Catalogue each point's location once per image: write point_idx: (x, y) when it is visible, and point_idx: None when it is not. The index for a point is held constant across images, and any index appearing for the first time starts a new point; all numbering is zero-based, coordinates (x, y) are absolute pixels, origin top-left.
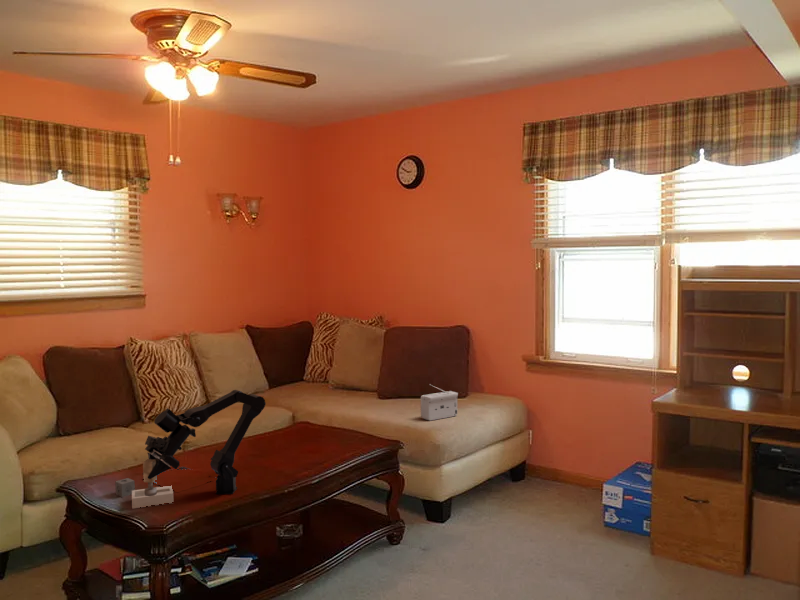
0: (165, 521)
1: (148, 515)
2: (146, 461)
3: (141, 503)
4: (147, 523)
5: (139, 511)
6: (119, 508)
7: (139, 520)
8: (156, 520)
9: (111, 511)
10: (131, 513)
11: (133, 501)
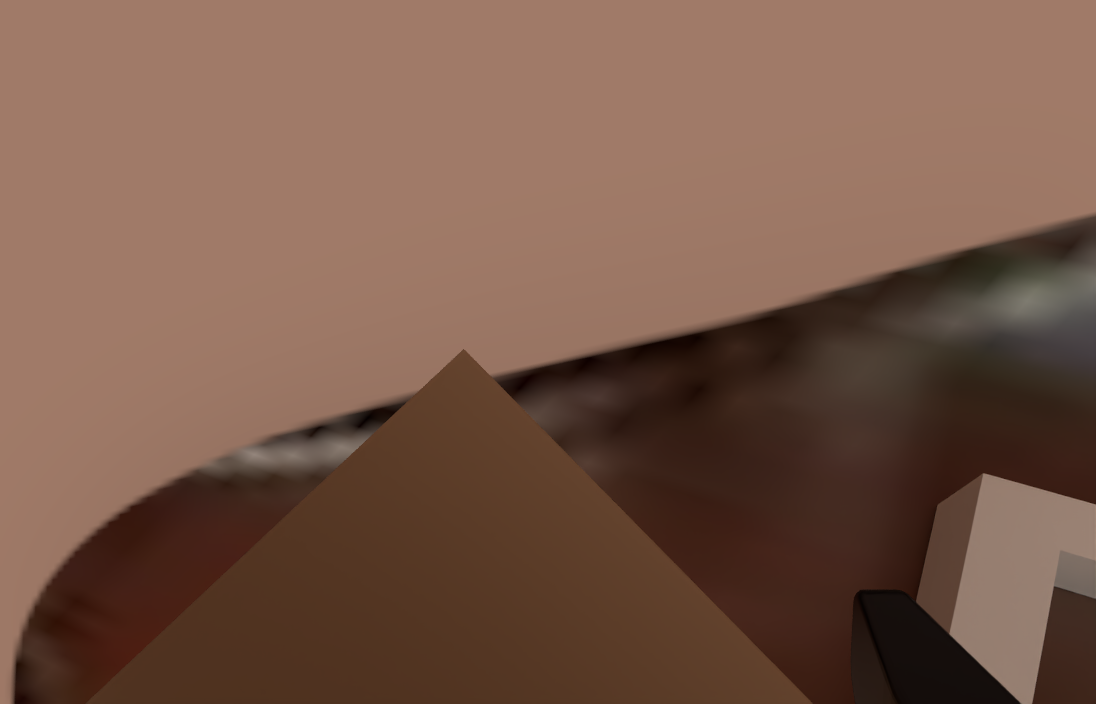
0: None
1: None
2: (429, 659)
3: None
4: (247, 487)
5: (745, 552)
6: (1071, 358)
7: None
8: None
9: (1004, 242)
10: (739, 435)
11: (964, 507)
